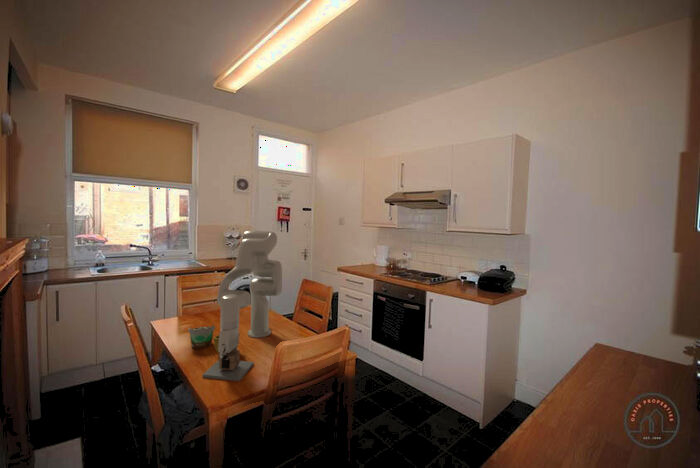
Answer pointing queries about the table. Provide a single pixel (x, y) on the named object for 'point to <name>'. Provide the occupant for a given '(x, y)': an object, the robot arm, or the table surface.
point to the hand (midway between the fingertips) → (229, 363)
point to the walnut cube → (231, 360)
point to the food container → (201, 337)
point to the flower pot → (217, 342)
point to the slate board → (228, 371)
